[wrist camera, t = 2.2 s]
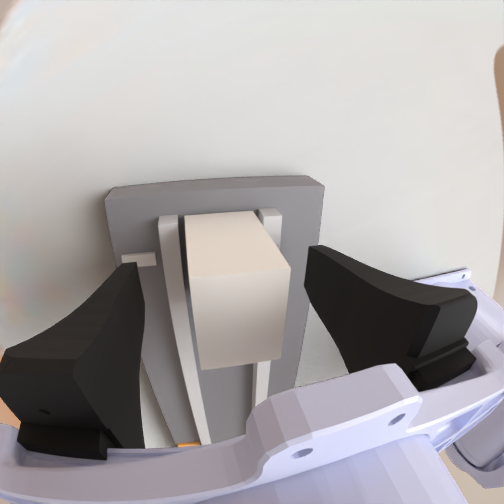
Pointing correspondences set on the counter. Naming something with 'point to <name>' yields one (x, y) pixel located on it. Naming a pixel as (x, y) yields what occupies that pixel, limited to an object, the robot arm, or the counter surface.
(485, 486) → the robot arm
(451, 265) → the counter surface
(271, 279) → the fader tab
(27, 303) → the counter surface
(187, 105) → the counter surface
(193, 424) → the fader track
